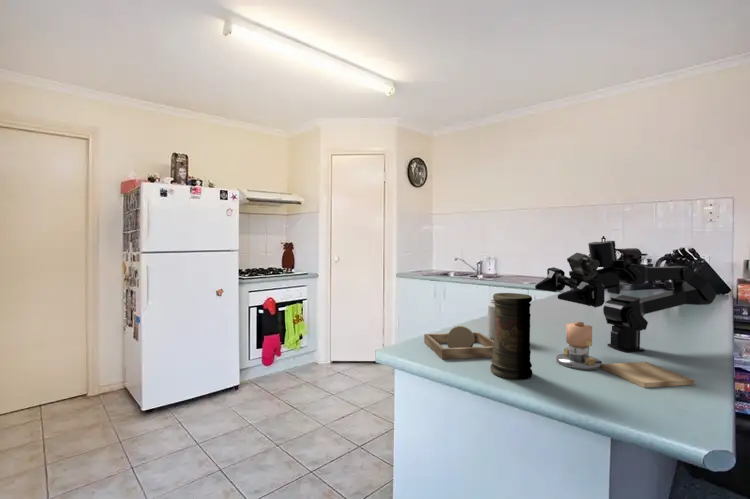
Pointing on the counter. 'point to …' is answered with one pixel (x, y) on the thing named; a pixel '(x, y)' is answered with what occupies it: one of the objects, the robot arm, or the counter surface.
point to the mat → (647, 374)
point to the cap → (579, 334)
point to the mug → (460, 337)
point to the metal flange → (578, 358)
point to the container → (512, 336)
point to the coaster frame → (456, 353)
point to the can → (491, 319)
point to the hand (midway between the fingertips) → (546, 291)
